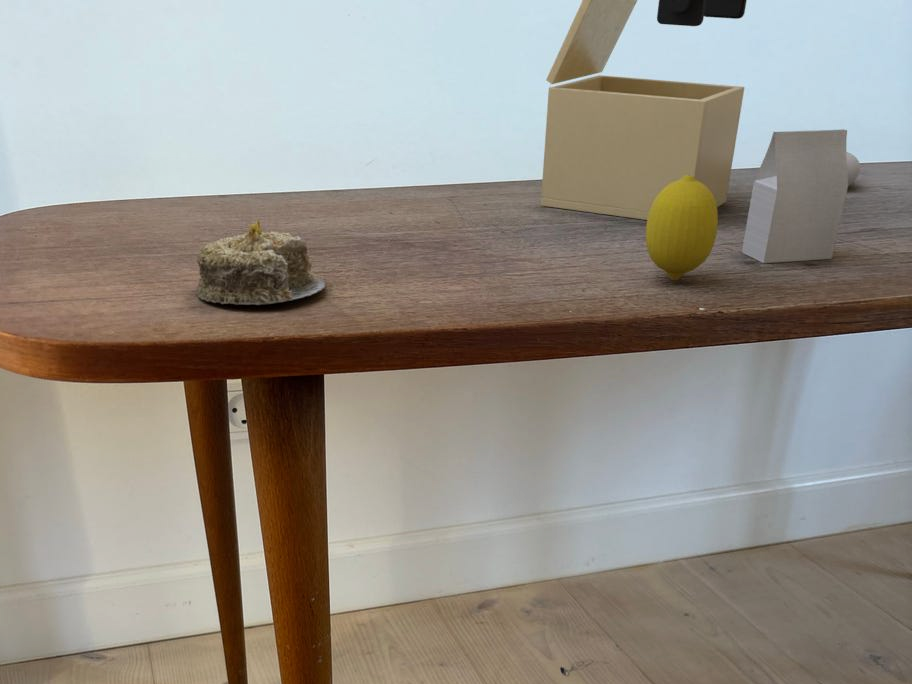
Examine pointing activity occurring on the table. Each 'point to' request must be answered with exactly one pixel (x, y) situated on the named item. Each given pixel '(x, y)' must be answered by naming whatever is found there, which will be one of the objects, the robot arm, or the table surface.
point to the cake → (256, 269)
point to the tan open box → (636, 142)
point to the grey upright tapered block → (798, 197)
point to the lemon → (682, 226)
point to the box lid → (590, 39)
